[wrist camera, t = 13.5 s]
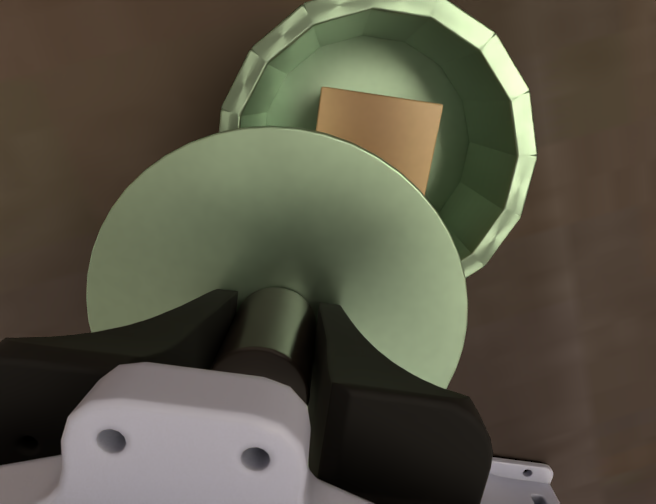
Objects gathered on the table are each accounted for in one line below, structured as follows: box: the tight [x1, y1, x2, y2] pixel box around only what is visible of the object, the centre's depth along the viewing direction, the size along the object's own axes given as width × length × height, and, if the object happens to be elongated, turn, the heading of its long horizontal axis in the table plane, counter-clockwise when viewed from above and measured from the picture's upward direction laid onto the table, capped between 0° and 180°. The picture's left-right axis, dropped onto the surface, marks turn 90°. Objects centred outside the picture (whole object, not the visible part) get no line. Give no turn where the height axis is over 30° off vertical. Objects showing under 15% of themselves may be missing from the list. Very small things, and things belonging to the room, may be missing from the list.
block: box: [315, 86, 443, 196], centre depth 19 cm, size 4×4×4 cm
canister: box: [219, 0, 538, 278], centre depth 19 cm, size 11×11×6 cm
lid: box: [86, 125, 468, 408], centre depth 13 cm, size 11×11×5 cm
